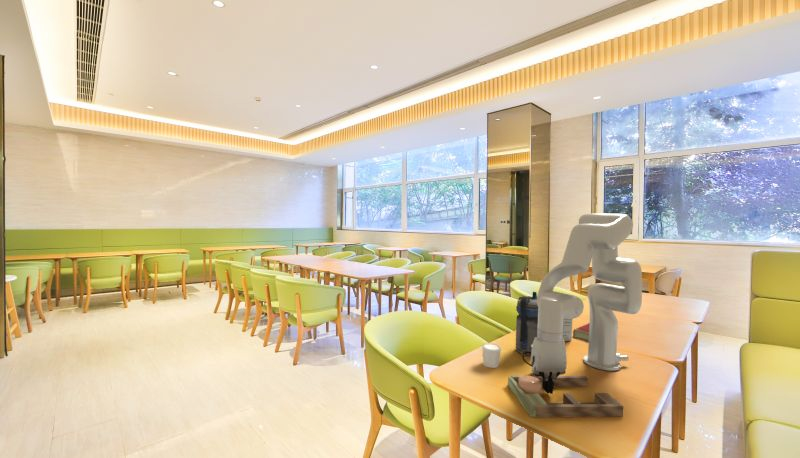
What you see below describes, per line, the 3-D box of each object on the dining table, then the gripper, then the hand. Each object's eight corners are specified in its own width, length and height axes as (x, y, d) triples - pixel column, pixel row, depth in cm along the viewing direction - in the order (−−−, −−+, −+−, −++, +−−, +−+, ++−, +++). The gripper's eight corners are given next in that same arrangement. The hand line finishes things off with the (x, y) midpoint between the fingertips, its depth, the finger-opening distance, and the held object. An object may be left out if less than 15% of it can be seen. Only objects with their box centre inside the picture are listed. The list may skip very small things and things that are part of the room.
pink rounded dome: (535, 388, 114) (536, 375, 114) (545, 400, 107) (545, 386, 107) (514, 388, 114) (515, 375, 114) (523, 400, 107) (523, 386, 107)
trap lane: (585, 384, 118) (586, 375, 117) (623, 416, 99) (623, 405, 99) (507, 385, 116) (508, 375, 116) (531, 417, 98) (531, 406, 98)
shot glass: (500, 369, 128) (501, 351, 128) (482, 367, 129) (482, 349, 129) (499, 361, 135) (500, 344, 134) (481, 359, 136) (482, 342, 136)
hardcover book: (573, 337, 165) (573, 328, 164) (591, 328, 178) (592, 320, 177) (599, 345, 155) (600, 335, 155) (617, 335, 168) (618, 326, 168)
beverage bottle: (508, 353, 143) (510, 294, 141) (522, 345, 152) (524, 289, 151) (532, 361, 136) (535, 298, 134) (545, 351, 145) (547, 293, 144)
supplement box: (546, 333, 168) (547, 303, 167) (565, 334, 167) (566, 304, 166) (551, 340, 159) (552, 308, 158) (572, 341, 158) (573, 309, 157)
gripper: (566, 331, 114) (564, 385, 115) (522, 331, 113) (520, 385, 114) (579, 339, 106) (576, 397, 107) (532, 339, 106) (530, 397, 106)
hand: (547, 391), depth 111 cm, fingers closed
